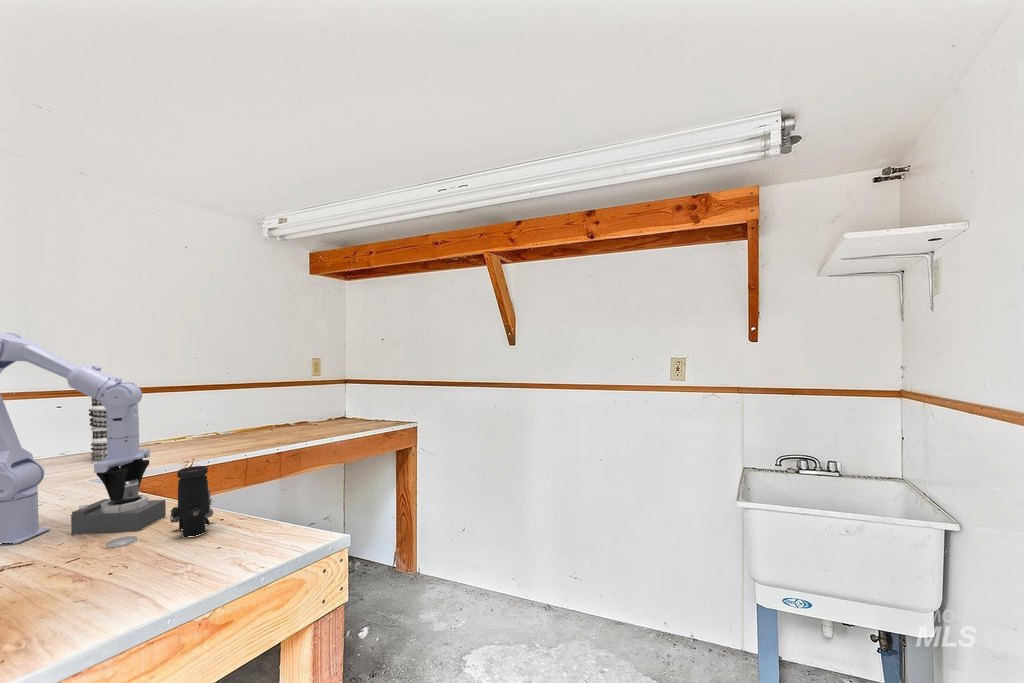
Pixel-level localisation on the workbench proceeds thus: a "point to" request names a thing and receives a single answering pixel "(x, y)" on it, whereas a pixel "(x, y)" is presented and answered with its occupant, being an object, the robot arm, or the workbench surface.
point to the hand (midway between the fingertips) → (124, 496)
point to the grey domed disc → (121, 541)
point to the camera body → (117, 516)
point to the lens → (129, 491)
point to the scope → (192, 501)
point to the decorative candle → (98, 431)
